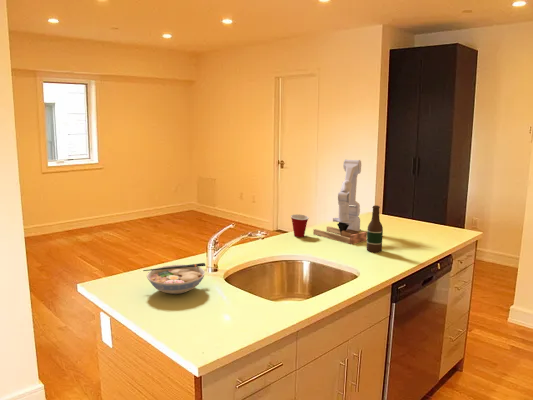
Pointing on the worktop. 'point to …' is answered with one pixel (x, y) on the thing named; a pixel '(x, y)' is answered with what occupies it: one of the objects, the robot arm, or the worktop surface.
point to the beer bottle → (374, 232)
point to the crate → (348, 232)
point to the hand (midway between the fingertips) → (342, 235)
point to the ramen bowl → (176, 277)
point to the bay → (352, 240)
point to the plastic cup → (299, 224)
